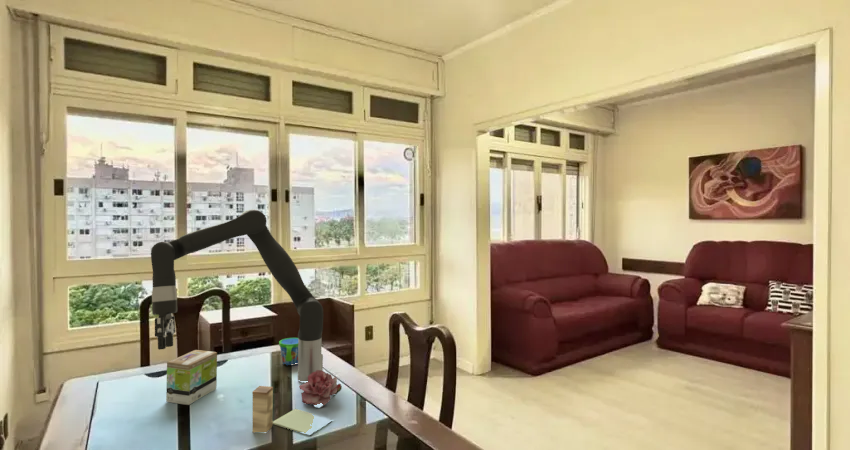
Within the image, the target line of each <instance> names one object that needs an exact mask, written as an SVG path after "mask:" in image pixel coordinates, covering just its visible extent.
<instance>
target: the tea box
mask: <svg viewBox="0 0 850 450" xmlns="http://www.w3.org/2000/svg"><path fill="white" fill-rule="evenodd" d="M217 370H218V351H217V352H216V351H210V350H209V351H208V350H201V349H194V350H192V351H189V352H187V353H185V354H183V355H181V356H178V357H175V358H173V359H171V360H169V361H167V362H166V392H165V393H166V398H165V400H166V402H167V403H173V404H177V405H178V404H180V405H186V406H189V405H191V404H192V403H194V402H196V401H197V400H199V399H201V398H202V397H204V396H206V395H208V394H209V393H211V392H213V391H216V389H217V377H218V376H217V374H218V371H217Z"/></svg>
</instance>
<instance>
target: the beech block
mask: <svg viewBox="0 0 850 450" xmlns="http://www.w3.org/2000/svg"><path fill="white" fill-rule="evenodd" d="M273 391H274V386H266V385H259V386H257V387H256V388H255V389H254V390H253V391H252V433H255V432H267V431H268V430H269V431H270V430H271V429H272V428H273V424H272V422H273V421H274V420H273V417H274V416H273V409H274V407H273V402H274V401H273V400H274V397H273V395H274V393H273ZM269 431H268V432H269ZM268 432H267V433H268Z"/></svg>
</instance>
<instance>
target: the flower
mask: <svg viewBox="0 0 850 450" xmlns="http://www.w3.org/2000/svg"><path fill="white" fill-rule="evenodd" d="M298 386H299V388H300V390H302V391H303V392H301V402H302V404H305V405H307V404H310V405H312V406H313V405H317V404H320V403H322V404H323V405H324V406H326V404H328V403H329V402H330V400H331V398H332V397H331V396H334V394H336V395H337V394H338V393H339V392H340V391H341V390H342V389H343V387H342V384H341V383H338V378H337V377H336V376H334V377H332V375H331V373H328V372H326V371H324V370H323V371H322V370H316V371H315V372H312V373H311V374H310V375H309V376H308V382H306V383H301V385H298Z"/></svg>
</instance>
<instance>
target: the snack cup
mask: <svg viewBox="0 0 850 450" xmlns="http://www.w3.org/2000/svg"><path fill="white" fill-rule="evenodd" d="M278 345H279V347H280V354H281V361H282V364H283V365H284V364H286V366H288V365H291V364H295V363H298V337H287V338H286V337H285V338H282V339H281V340H279V341H278ZM291 366H292V365H291Z"/></svg>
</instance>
